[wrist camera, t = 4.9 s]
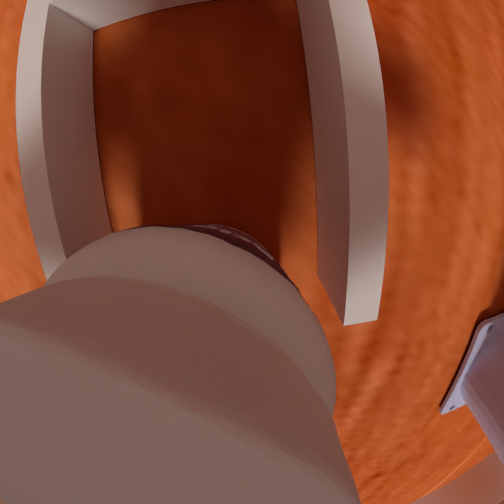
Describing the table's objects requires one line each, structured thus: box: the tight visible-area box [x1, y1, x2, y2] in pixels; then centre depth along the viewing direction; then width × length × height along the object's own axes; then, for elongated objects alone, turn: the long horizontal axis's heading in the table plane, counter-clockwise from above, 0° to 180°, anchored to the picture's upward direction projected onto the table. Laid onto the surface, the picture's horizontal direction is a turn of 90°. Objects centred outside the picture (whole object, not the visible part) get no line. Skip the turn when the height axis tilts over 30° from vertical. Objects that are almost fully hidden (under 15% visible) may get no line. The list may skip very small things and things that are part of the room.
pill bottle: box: [0, 224, 361, 504], centre depth 5 cm, size 5×5×8 cm
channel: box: [16, 0, 389, 326], centre depth 7 cm, size 9×11×3 cm
